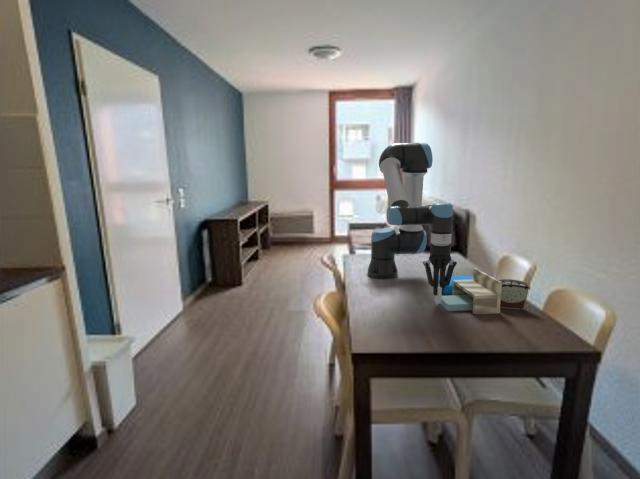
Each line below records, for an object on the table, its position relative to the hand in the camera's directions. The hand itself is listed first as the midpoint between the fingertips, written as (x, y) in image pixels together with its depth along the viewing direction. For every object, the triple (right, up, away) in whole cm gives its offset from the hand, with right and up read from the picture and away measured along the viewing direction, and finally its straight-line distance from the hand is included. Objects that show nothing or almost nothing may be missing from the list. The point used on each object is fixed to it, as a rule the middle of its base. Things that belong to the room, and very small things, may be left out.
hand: (437, 302), depth 150 cm
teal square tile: (+8, -2, +1) cm, 8 cm away
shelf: (+15, -1, +1) cm, 15 cm away
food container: (+28, -1, 0) cm, 28 cm away
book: (+19, +2, +20) cm, 28 cm away
